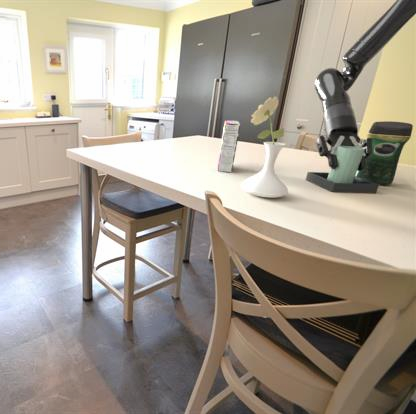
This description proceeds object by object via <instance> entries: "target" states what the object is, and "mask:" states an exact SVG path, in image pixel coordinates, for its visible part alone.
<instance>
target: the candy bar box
mask: <svg viewBox="0 0 416 414" xmlns="http://www.w3.org/2000/svg"><path fill="white" fill-rule="evenodd" d="M240 129H241V123H240V121H239V120H224V124H223V130H222V135H221V141H220V142H221V143H220V148H219V154H218V162H217V172H220V173H221V172H222V173H233V167H234V162H235V157H236V151H237V146H238V141H239V136H240V135H239V134H240Z"/></svg>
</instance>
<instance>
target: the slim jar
mask: <svg viewBox="0 0 416 414" xmlns="http://www.w3.org/2000/svg"><path fill="white" fill-rule="evenodd" d="M364 150H365V149H364V148H360V147H353V146H338V148H337V152H336V154H335V155H336V156H337V161H338V166H337V167H336V168H335V169H331V168H330V169H329V171H328V173H329V175H328V178H327V180H330V181H332V182H335V183H353V180H354V178H355V175H356V172H357V169H358V167H359V164H360V161H361V159H362V156H363V153H364Z"/></svg>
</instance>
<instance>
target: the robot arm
mask: <svg viewBox="0 0 416 414" xmlns="http://www.w3.org/2000/svg"><path fill="white" fill-rule="evenodd" d="M415 15H416V0H395V2H394V3H393V4H392V5H391V6H390V7H389V8H388V9H387V10H386V11H385V12H384V13H383V14H382V15H381V16H380V17H379V18H378V19H377V20H376V21H375V22H374V23H373V24H372V25H371V26H370V27H369V28H368V29H367V30H366V31H364V32H363V34H362V35H361V36H360V37H359V38H358V39H357V41H355V42H354V43H353V45H352V46H351V47H350V48H349V49H348V50H347V51H346V52H345V53H344V54H343V56H342V62H343V64H344V67H343V69H342V71H340V70H339V69H337V68H334V67H330V68H325V69H323V70H321V71H320V73H319V74H317V76H316V78H315V81H314V89H315V92H316V94H317V97H318V98H319V99H318V100H319V101H320V102H321V105H322V112H323V126H324V133H325V135H324V136H323V135H320V136H319V137H318V138H317V139H316V140H315V145H316V148H317V150H318V151H317V152H318V155H319V156H320V157H325V158H326V159H327V163H328V167H329V168H330V169H335V168H336V167H337V166H338V161H337V156H336V155H335V154H336V152H337V148H338V146H353V147H360V148H364V149H365V150H364V153H363V156H362V159H361V161H360V164H359V167H358V169H357V171H361V170H362V169H364V167H366V162H365V159H366V158H367V157H369V156H370V155H371V154H372V139H371V138H367V137H366V139H364V138H361V137H360V136H359V135H358V132H359V131H358V124H357V119H356V114H355V110H354V109H353V106H352V100H351V96H350V95H349V93H348V91H349V90H350V89H351V88H352V87H353V85H354V84H355V83H356V81H357V80H358V78H359V76H360V75H361V74H362V72H363V70H364V69H365V67H366V66H367V65H368V64H369V63H370V61H372V60H373V59H374V58H375V57H376V56H377V55H378V54H379V53H380V52H381V51H382V50H383V49H384V48H385V47H386V46H387V44H388V43H390V41H391V40H392V39H393V38H394V37H395V36H396V35H398V33H399V32H400V31H401V30H402V29H403V28H404V26H406V24H407V23H408V22H409V21H410V20H411V19H412V18H413V17H415ZM328 146H330V148H329V147H328Z"/></svg>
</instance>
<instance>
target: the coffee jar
mask: <svg viewBox="0 0 416 414" xmlns="http://www.w3.org/2000/svg"><path fill="white" fill-rule="evenodd" d="M413 127H414V126H413V124H412V123H409V122H402V121H391V120H389V121H387V120H386V121H375V122H373V123H372V125H371V126H370V128H369V130H368V132H367V134H366V139H367V138H371V139H372V154H371V155H370V156H369V157H367V158H366V159H365V162H366V167H364V169H362V170H361V171H357V172H356V175H355V176H356V177H359V178H362V179H365V180H368V181H370V182H373V183H376V184H379V186H380V185H381V186H383V185H384V186H387V185H388V186H389V185H391V184H393V182H394V179H395V176H396V172H397V169H398V166H399V165H398V164H399V160H400V157H401V154H402V151H403V149H404V146H405V145H406V144H407V143H408V142H409V141H410V139H411V137H412V133H413Z"/></svg>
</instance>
